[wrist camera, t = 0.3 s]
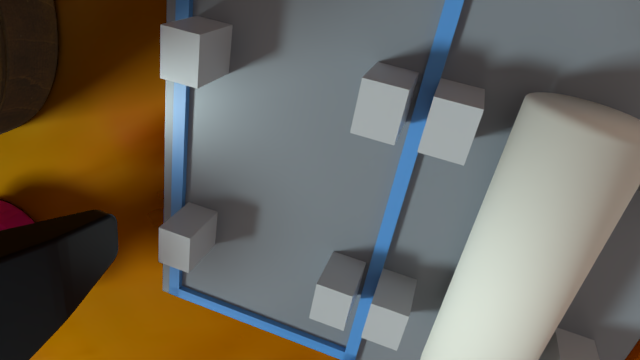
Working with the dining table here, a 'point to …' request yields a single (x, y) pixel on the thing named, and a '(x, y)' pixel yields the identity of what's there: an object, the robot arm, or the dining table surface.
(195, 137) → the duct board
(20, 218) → the pepper mill
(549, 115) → the white cylinder
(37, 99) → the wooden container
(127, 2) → the dining table surface
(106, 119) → the dining table surface
